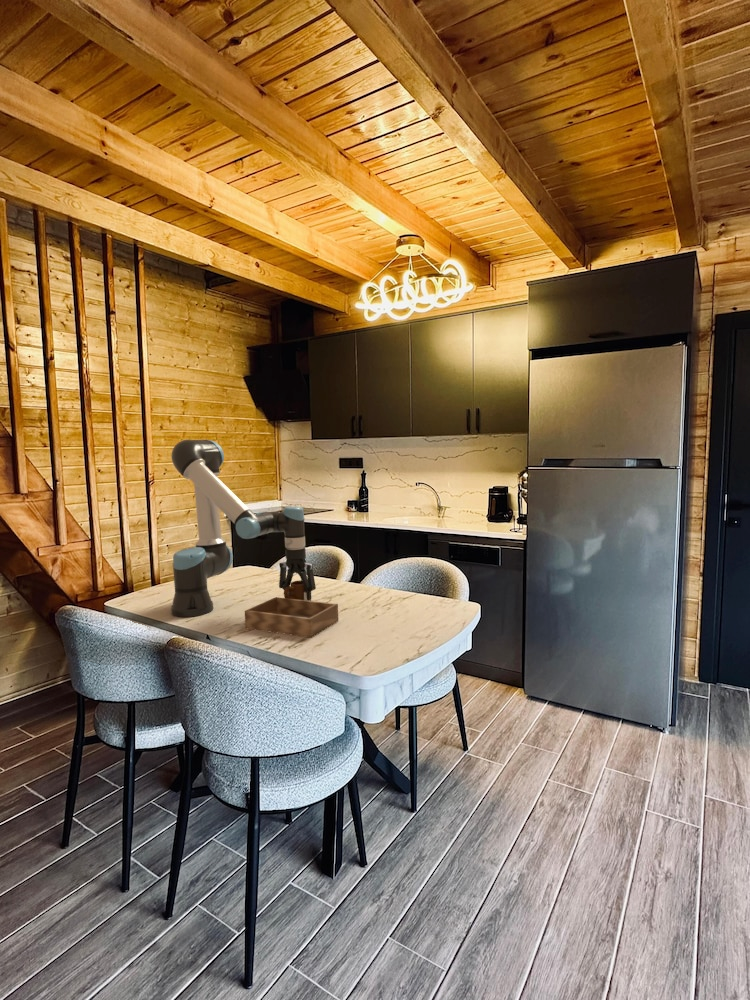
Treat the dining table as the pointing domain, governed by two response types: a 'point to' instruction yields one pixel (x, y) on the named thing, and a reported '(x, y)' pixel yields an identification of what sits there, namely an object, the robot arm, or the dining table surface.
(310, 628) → the crate
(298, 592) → the mug
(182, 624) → the dining table surface
